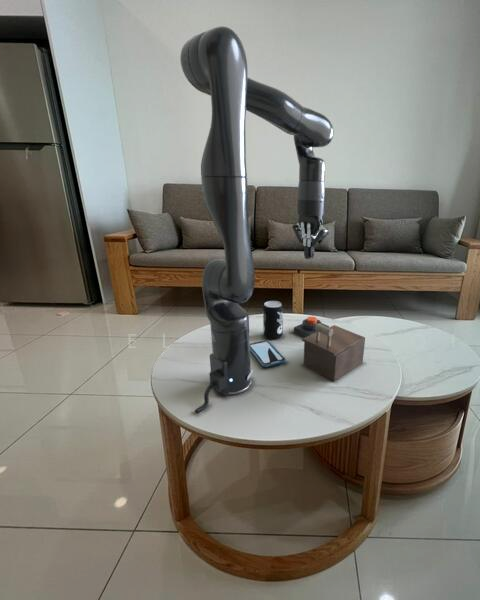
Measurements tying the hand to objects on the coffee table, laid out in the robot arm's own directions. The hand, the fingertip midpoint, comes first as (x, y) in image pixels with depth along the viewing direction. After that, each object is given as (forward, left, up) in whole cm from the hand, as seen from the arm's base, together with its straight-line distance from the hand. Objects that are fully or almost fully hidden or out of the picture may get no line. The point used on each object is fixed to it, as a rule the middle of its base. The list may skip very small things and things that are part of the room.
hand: (309, 258), depth 96 cm
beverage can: (-4, +12, -29) cm, 32 cm away
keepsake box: (-3, -14, -29) cm, 32 cm away
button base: (+8, +5, -29) cm, 30 cm away
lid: (-3, -14, -21) cm, 25 cm away
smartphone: (-14, +4, -29) cm, 32 cm away
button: (+8, +5, -25) cm, 27 cm away
